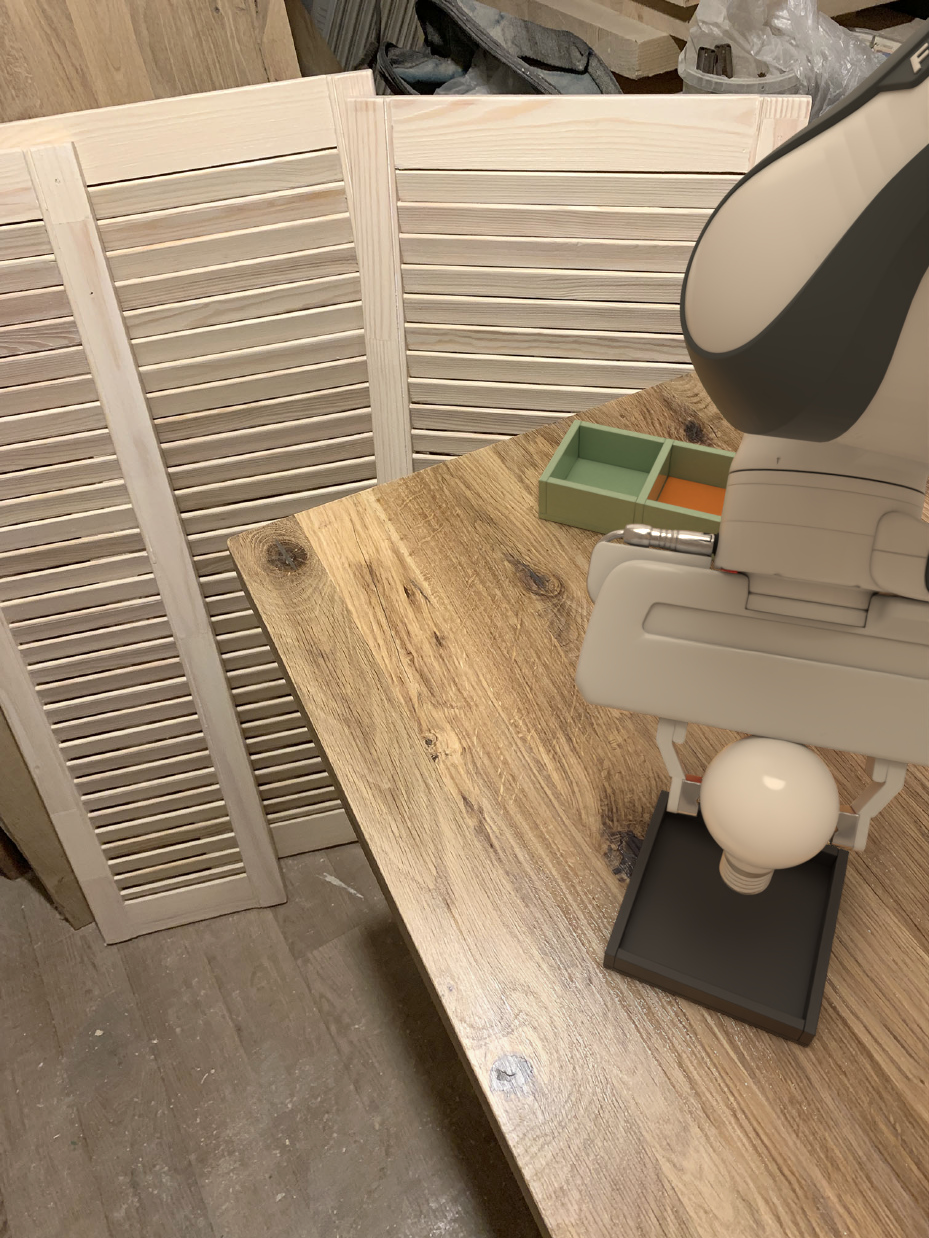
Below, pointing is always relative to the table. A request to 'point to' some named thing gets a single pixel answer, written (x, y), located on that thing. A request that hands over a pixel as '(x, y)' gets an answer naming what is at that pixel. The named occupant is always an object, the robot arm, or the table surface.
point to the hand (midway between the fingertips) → (762, 829)
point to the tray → (728, 929)
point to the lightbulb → (767, 808)
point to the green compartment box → (633, 481)
